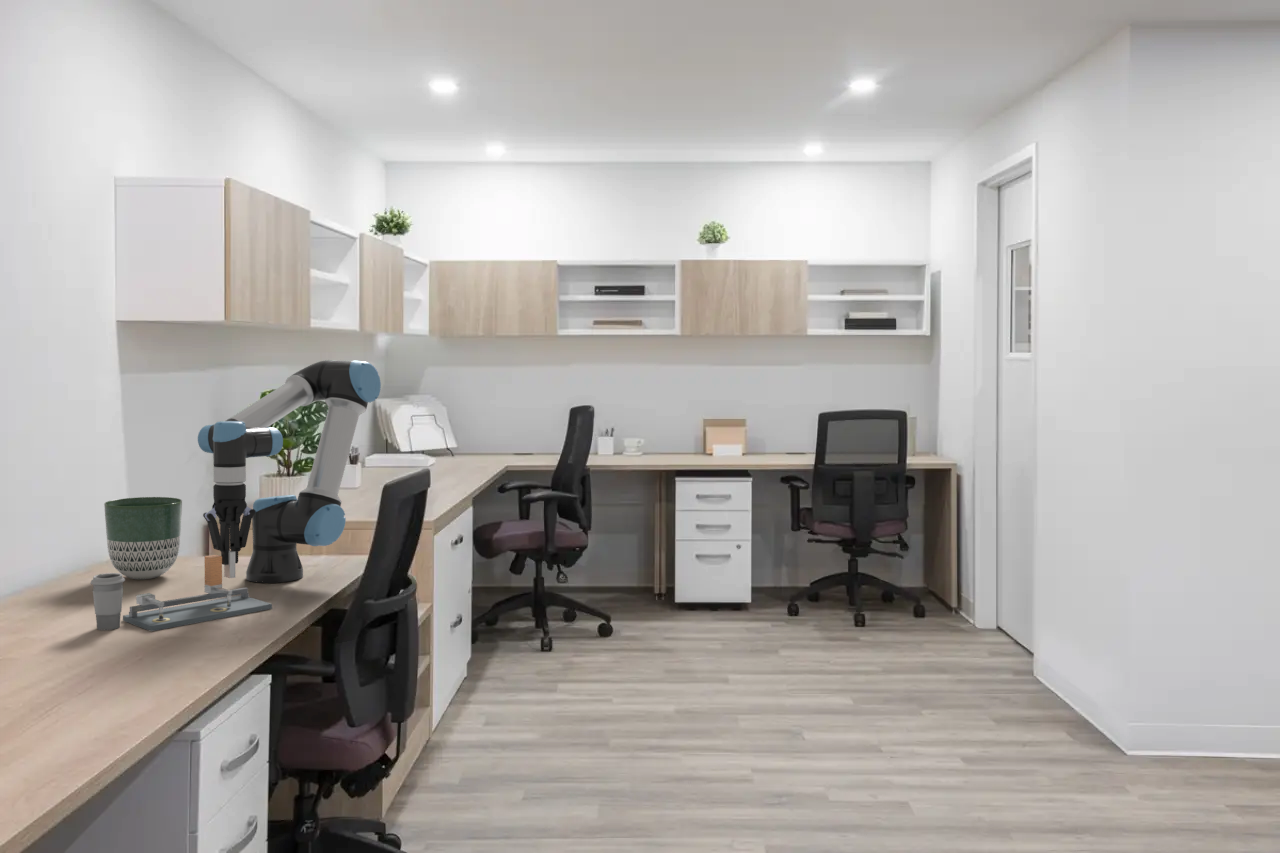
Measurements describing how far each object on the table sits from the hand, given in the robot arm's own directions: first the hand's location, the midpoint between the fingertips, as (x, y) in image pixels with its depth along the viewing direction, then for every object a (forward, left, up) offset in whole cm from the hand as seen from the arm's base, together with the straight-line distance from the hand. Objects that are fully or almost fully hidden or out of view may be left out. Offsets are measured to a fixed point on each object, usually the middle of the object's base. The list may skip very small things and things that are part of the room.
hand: (229, 576), depth 261 cm
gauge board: (+10, +4, -7) cm, 13 cm away
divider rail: (+10, +3, -6) cm, 12 cm away
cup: (+30, +1, -7) cm, 31 cm away
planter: (0, -46, -7) cm, 47 cm away
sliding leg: (+4, +3, -6) cm, 8 cm away
